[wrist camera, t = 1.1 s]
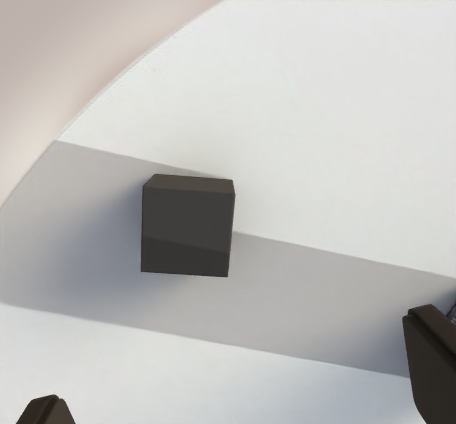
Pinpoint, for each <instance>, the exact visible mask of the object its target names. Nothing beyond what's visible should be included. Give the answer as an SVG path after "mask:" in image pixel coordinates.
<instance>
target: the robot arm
mask: <svg viewBox="0 0 456 424" xmlns="http://www.w3.org/2000/svg"><path fill="white" fill-rule="evenodd" d="M402 322H403V329H404V336H405V343H406V350H407V357H408V364H409V371H410V378H411V385H412V392H413V398H414V402H415V405H416V407H417V409H418V411H419V413H420V415H421V416H422V418H423V419H424V421H425V422H426V424H456V325H454V324H453V323H452V322H451V321H450V320H449V319H448V318H447V317H446V316H445V315H443V314H442V313H441V312H440V311H439V310H438V309H437V308H436V307H435V306H433V305H432V304H428V305H424V306H420V307H416V308H412V309H409V310H408V315H407V316H404V317H403V318H402ZM16 424H75V422H74V419H73V417H72V415H71V413H70V411H69V409H68V406H67V404H66V402H65V401H64V400H63V399H59V398H58V396H56V395H49V396H45V397H41V398H36V399H33V400H31V401H30V403H29V404H28V405H27V407H26V409H25V410H24V412H23V413H22V415H21V417H20V418H19V420H18V421H17V423H16Z"/></svg>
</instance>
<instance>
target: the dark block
mask: <svg viewBox="0 0 456 424" xmlns="http://www.w3.org/2000/svg"><path fill="white" fill-rule="evenodd" d="M234 204H235V191H234V186H233V181H232V180H227V179H214V178H201V177H188V176H175V175H162V174H155V175H154V176H153V177H152V178H151V179H150V180H149V181H148V182H147V183H146V184H145V185H144V186H143V195H142V239H141V272H153V273H168V274H184V275H199V276H215V277H228V269H229V259H230V248H231V237H232V226H233V215H234Z"/></svg>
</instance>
